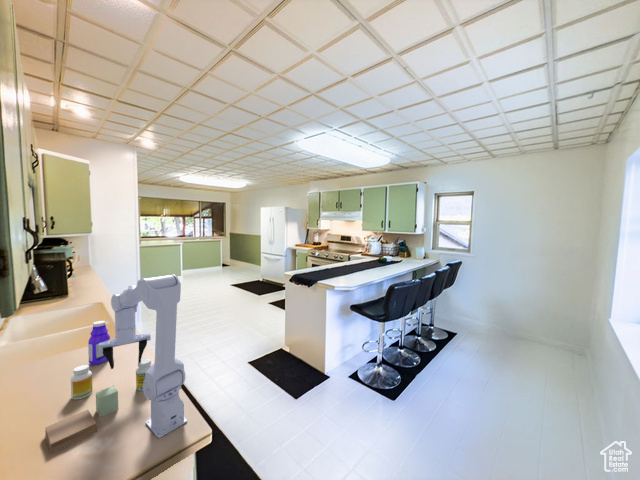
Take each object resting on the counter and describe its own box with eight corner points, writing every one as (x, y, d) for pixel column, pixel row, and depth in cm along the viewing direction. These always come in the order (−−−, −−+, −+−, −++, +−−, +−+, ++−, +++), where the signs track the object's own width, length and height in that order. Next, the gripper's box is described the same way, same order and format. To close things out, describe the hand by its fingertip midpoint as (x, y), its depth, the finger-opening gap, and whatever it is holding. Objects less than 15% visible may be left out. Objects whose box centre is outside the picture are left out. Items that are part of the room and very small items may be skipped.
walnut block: (96, 433, 73) (96, 423, 73) (51, 455, 66) (50, 444, 65) (88, 418, 78) (88, 409, 78) (45, 437, 71) (45, 427, 71)
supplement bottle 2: (153, 380, 97) (153, 356, 97) (154, 388, 93) (153, 362, 92) (136, 385, 94) (136, 360, 94) (135, 393, 90) (135, 366, 89)
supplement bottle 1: (95, 392, 90) (95, 365, 89) (76, 401, 85) (75, 373, 85) (87, 388, 92) (87, 362, 92) (68, 397, 87) (67, 369, 87)
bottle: (102, 357, 114) (101, 318, 113) (113, 358, 113) (112, 319, 113) (85, 365, 107) (84, 324, 106) (97, 366, 106) (96, 325, 105)
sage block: (118, 409, 82) (117, 391, 82) (100, 417, 78) (99, 398, 78) (113, 403, 85) (113, 385, 84) (96, 411, 81) (95, 392, 81)
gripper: (149, 319, 97) (150, 354, 98) (99, 327, 89) (100, 365, 89) (150, 325, 91) (151, 362, 92) (97, 334, 83) (98, 375, 84)
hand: (126, 364), depth 90 cm, fingers open, 7 cm apart
